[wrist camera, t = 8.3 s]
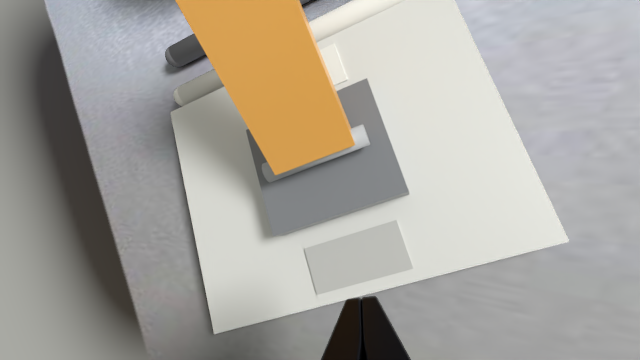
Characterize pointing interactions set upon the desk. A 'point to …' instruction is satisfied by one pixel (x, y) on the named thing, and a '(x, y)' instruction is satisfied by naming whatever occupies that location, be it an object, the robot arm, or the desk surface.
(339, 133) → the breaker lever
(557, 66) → the desk surface
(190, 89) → the rods
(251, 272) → the breaker panel
